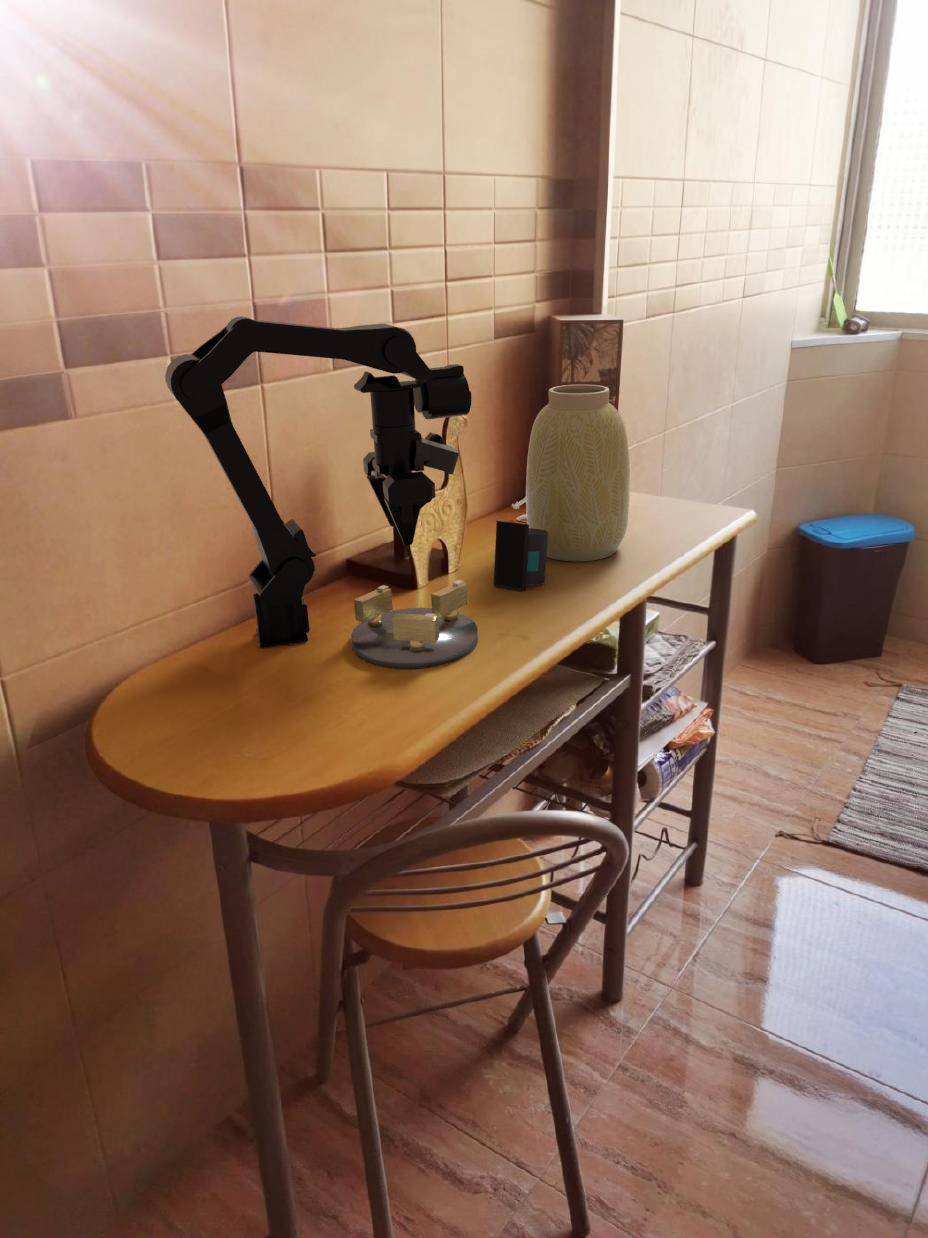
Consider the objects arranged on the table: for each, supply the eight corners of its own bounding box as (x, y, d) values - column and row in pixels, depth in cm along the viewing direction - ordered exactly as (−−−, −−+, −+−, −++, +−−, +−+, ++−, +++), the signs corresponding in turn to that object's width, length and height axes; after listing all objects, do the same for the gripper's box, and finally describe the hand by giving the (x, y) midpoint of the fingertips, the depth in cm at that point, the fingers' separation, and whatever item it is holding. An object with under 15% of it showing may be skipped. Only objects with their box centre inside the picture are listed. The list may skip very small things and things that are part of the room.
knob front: (394, 650, 119) (391, 615, 117) (399, 644, 121) (396, 609, 119) (435, 654, 118) (433, 618, 116) (440, 647, 120) (438, 612, 118)
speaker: (518, 594, 139) (520, 526, 136) (492, 587, 144) (493, 520, 141) (553, 586, 144) (556, 520, 141) (528, 579, 148) (530, 515, 145)
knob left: (366, 633, 125) (363, 599, 123) (355, 630, 126) (352, 596, 124) (394, 619, 129) (392, 586, 127) (384, 616, 130) (381, 584, 128)
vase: (556, 572, 148) (557, 402, 138) (509, 543, 163) (506, 387, 153) (647, 555, 155) (655, 390, 144) (594, 528, 169) (597, 377, 159)
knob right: (442, 627, 126) (441, 593, 124) (431, 624, 127) (429, 590, 125) (468, 614, 130) (467, 581, 128) (457, 611, 131) (456, 578, 129)
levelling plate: (364, 677, 116) (362, 661, 115) (342, 627, 131) (341, 612, 130) (494, 657, 120) (493, 642, 119) (458, 610, 135) (457, 596, 134)
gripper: (471, 430, 118) (475, 547, 124) (434, 406, 134) (439, 511, 140) (385, 438, 115) (393, 558, 121) (358, 413, 132) (367, 519, 138)
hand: (401, 534), depth 130 cm, fingers open, 9 cm apart
